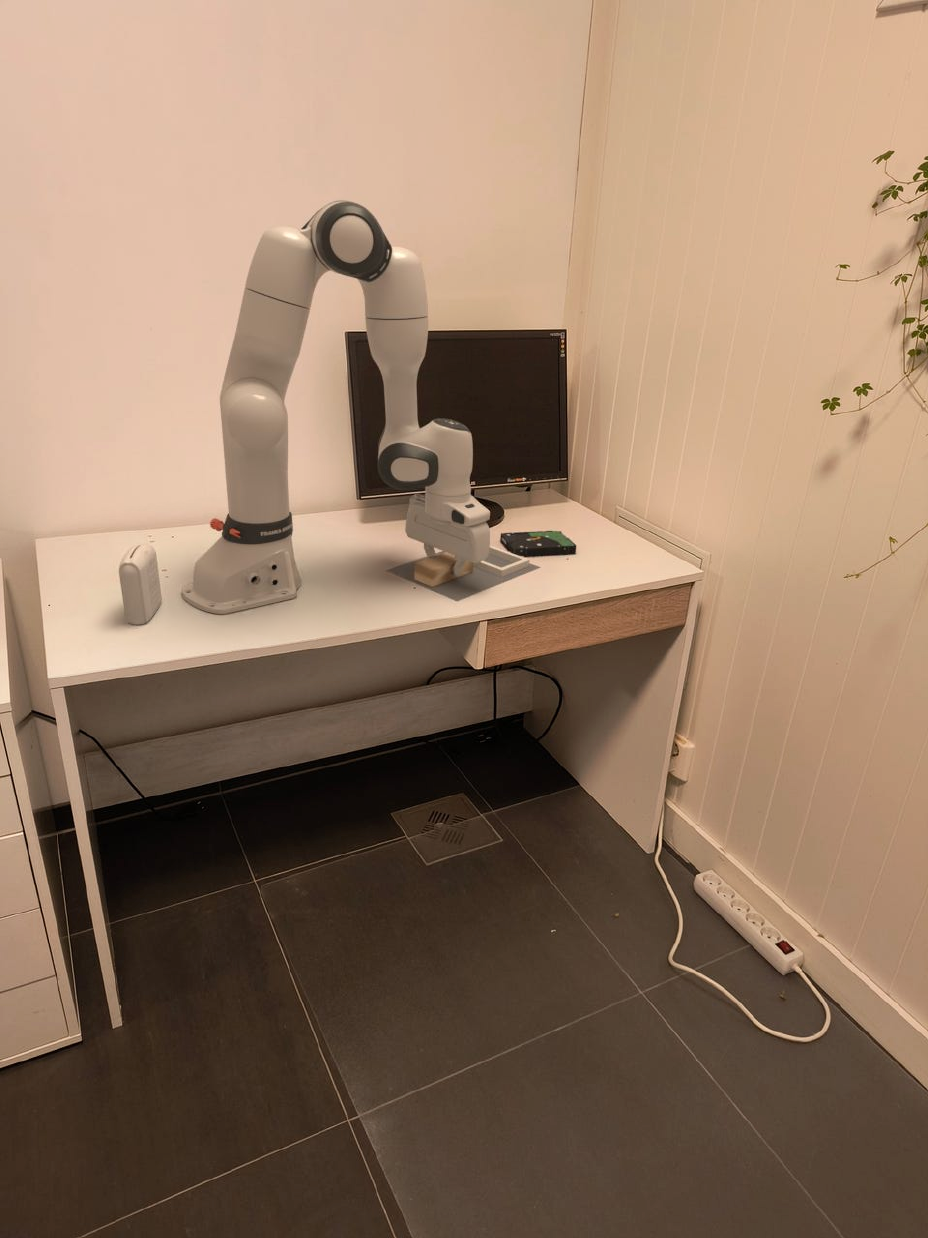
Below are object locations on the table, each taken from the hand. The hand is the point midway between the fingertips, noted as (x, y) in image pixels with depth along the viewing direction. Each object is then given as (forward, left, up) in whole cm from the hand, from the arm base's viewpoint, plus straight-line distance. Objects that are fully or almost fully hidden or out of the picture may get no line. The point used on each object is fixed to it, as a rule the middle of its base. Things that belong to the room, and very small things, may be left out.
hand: (444, 569), depth 163 cm
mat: (+6, 0, -2) cm, 6 cm away
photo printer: (-52, +24, -2) cm, 57 cm away
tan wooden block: (0, 0, -1) cm, 1 cm away
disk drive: (+29, -2, -3) cm, 29 cm away
